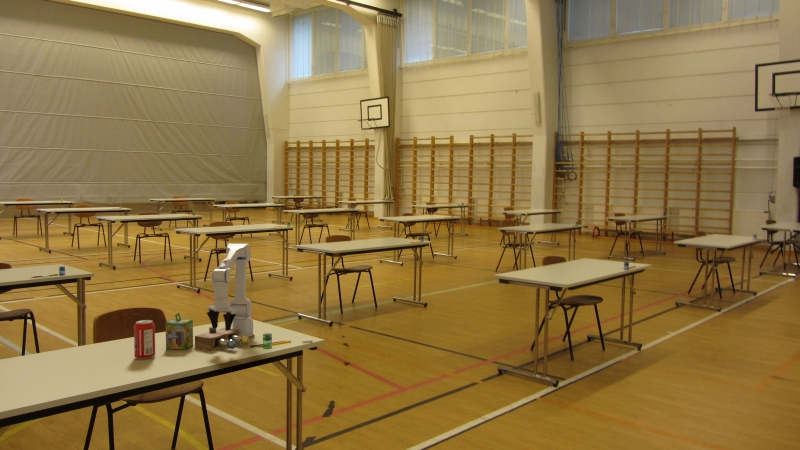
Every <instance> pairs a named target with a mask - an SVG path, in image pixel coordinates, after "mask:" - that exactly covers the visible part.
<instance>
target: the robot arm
mask: <svg viewBox="0 0 800 450" xmlns="http://www.w3.org/2000/svg"><path fill="white" fill-rule="evenodd" d="M251 251H252V250H251V246H250V244H249V243H227V245H226V249H225V252H226V253H225V254H226V257H225V258H224V259H222V260H221V261H220V264H219V265H218V267H217V268H216V269H214V270H213V271H212V274H211V280H212V286H213V293H214V298H213V299H214V300H213V301H214V303H213V304H214V305H207V306H206V307H207V312H206V315H207V317H208V319H209V320H210V323H211V327H213V328H216V329H217V328H218V326H219V316H220V313H224V314H222V316H223V319H224V328H225V329H226V331H228V330H230V329H236V330H240V336H248V337H249V338H251V337H253V335H254V336H255V334H254V321H253V318H252V317H251V316H252V314H253V306H252V301H251V300H250V299H249V298H247V296H246V293H247V292H246V291H247V287H246V286H247V266H248V265H247V264H248V262H250V261H251ZM234 263H235V264H234ZM234 267H235V279H234V280H235V281H234V282H235V285H234V298H232V299H231V300H230V301H229V283H230V281H231V276H232V271H233V269H234Z"/></svg>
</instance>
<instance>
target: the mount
mask: <svg viewBox="0 0 800 450" xmlns="http://www.w3.org/2000/svg"><path fill="white" fill-rule="evenodd" d="M228 335H235V336H240V330H236V329H232V328H231V329H230V330H228V331H226V329H225V327H223V328H219V329H216V332H215V333H209V331H207V332H204V333H200V334H196V335H194V348H195V349H197V348H199V349H198V350H204V351H214V350H217V349H221V348H224V347H225V346H219V345H215V339H216V338H217V339H224V340H228ZM236 343H238V342H236Z"/></svg>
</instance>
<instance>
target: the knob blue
mask: <svg viewBox="0 0 800 450" xmlns="http://www.w3.org/2000/svg"><path fill="white" fill-rule="evenodd" d="M237 343H238V342H237ZM237 343H236V341H235V340H231V339H230V340H224V339H217V338H216V339H215V345H219V346H224V347H227V349H231V350H235V349H236V348H237V345H238V344H237Z"/></svg>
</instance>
